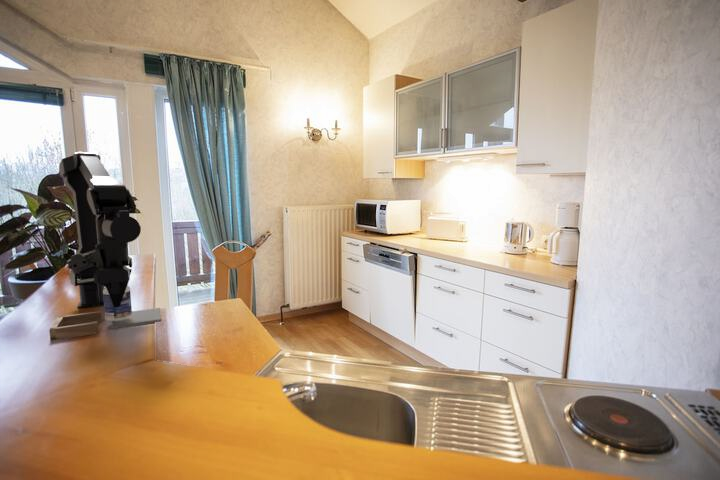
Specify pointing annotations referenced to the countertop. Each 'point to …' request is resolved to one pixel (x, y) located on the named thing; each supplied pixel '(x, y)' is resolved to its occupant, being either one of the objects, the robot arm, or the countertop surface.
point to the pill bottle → (117, 312)
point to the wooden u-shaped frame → (75, 325)
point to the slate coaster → (139, 318)
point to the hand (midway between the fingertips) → (117, 303)
